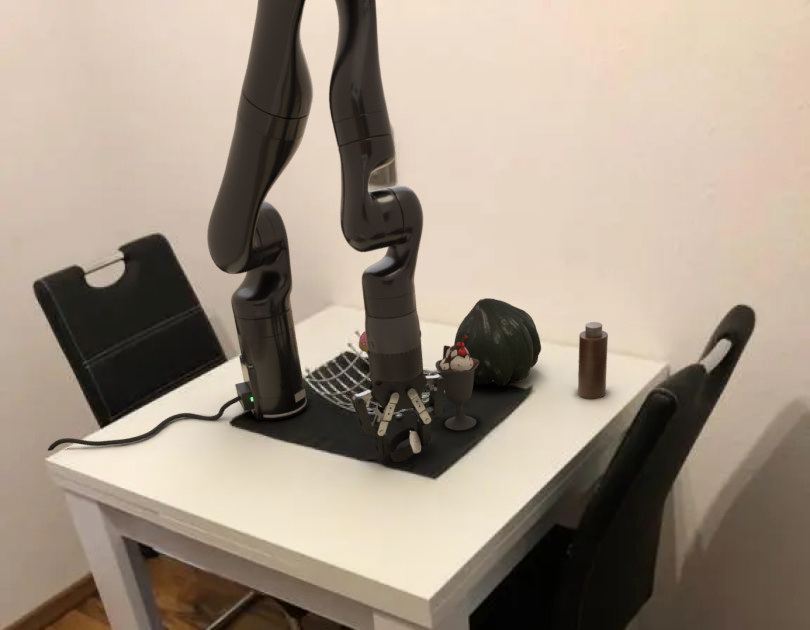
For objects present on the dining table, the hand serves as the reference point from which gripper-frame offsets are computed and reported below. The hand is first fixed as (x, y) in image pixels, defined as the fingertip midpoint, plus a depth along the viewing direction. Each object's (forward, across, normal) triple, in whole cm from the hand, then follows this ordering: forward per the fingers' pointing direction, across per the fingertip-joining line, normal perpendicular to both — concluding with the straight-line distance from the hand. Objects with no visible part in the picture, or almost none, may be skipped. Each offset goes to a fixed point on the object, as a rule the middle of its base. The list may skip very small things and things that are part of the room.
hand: (404, 449), depth 134 cm
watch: (+1, 0, 0) cm, 1 cm away
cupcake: (+2, -10, -35) cm, 36 cm away
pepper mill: (+1, -35, -5) cm, 35 cm away
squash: (+2, -25, -19) cm, 31 cm away
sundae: (+2, -12, -6) cm, 13 cm away
